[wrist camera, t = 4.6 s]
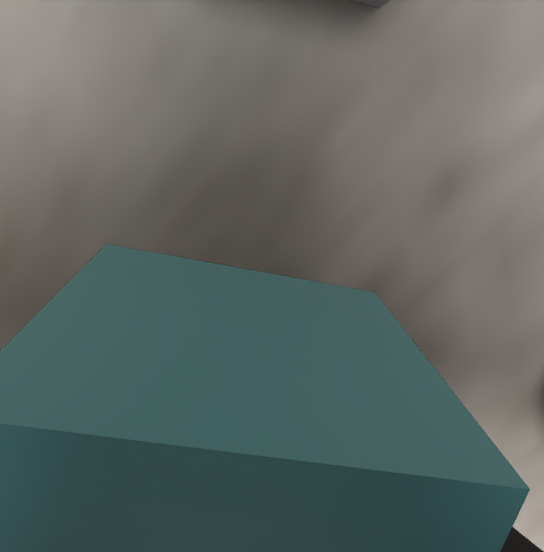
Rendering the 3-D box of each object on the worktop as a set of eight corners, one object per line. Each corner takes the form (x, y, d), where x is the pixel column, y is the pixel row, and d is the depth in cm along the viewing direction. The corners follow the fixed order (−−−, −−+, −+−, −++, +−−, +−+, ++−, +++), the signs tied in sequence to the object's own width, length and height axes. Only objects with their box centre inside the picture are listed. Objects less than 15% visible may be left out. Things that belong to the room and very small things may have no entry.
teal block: (374, 291, 9) (529, 489, 4) (312, 497, 10) (377, 812, 6) (106, 244, 8) (-63, 414, 4) (82, 471, 10) (-61, 803, 5)
